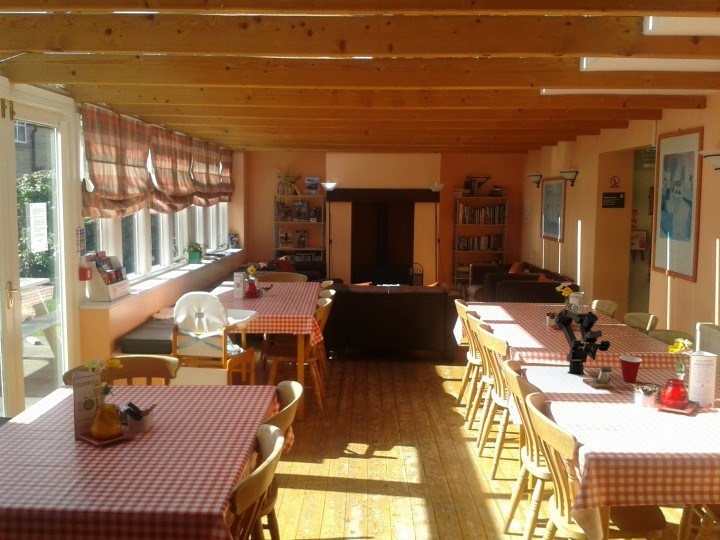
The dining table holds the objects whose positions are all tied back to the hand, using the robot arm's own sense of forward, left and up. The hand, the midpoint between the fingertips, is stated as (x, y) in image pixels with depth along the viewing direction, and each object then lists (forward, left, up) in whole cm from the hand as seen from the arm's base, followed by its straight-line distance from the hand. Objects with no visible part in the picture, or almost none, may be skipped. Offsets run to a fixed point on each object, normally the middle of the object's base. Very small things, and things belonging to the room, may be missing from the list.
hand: (594, 359), depth 355 cm
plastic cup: (+9, +19, -12) cm, 24 cm away
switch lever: (+8, -6, -9) cm, 14 cm away
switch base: (+4, -3, -12) cm, 13 cm away
